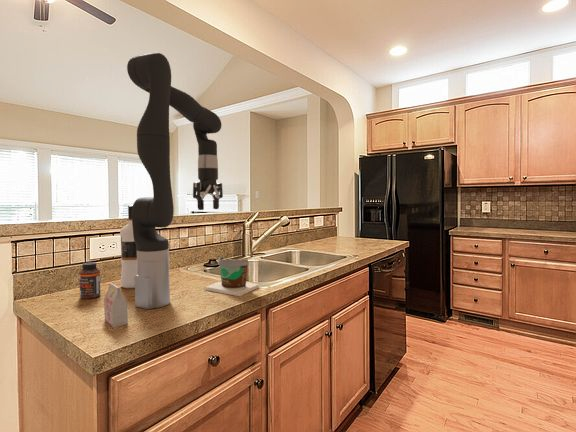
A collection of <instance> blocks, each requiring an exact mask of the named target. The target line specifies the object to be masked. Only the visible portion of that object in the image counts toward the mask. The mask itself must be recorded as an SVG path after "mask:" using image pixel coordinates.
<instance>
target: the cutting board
mask: <svg viewBox="0 0 576 432" xmlns="http://www.w3.org/2000/svg"><path fill="white" fill-rule="evenodd" d="M258 288H260V284H259V283H253V282H247V281H246V286H245V287H241V288H225V287H223V286H222V282H221V281H218V282H215V283H212V284H209V285H207V286H204V290H205V291H208V292H214V293H218V294H219V293H220V294H225V295H231V296H236V297H241V296H243V295H245V294H247V293H249V292H252V291H254V290H257V289H258Z"/></svg>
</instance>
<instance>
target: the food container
mask: <svg viewBox="0 0 576 432" xmlns="http://www.w3.org/2000/svg"><path fill="white" fill-rule="evenodd" d="M248 259H249V258H245V259H237V258H224V256H223V255H222V256H221V255H220V256H219V258H218V260H217V264H218V265H219V271H220V280H221V282H222V286H223V287H225V288H241V287H245V286H246V282H247V272H248V266H249V265H250V264H249V260H248Z"/></svg>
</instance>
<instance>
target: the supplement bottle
mask: <svg viewBox="0 0 576 432" xmlns="http://www.w3.org/2000/svg"><path fill="white" fill-rule="evenodd" d="M100 273H101V271H100V269H99V268H97V262H96V261H95V262H94V261H89V262H84V263H82V269H81V270H80V271H79V276H78V277H79V297H80V299H84V300H89V299H95V298H99V296H100V295H101V274H100Z"/></svg>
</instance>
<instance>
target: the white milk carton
mask: <svg viewBox="0 0 576 432" xmlns="http://www.w3.org/2000/svg"><path fill="white" fill-rule="evenodd" d="M103 303H104V304H103V307H104V321H105V322H106V323H107V324H108V325H109V326H111V328H117V327H120V326H124V325H129V317H128V316H129V315H128V301H127V299H126V298H125V296H124V295H123V293H122V291H121V288H120V287H119V286H117V285H115V284H114V283H113V282H109V286H108V289H107V292H106V294H105V297H104V299H103Z"/></svg>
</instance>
